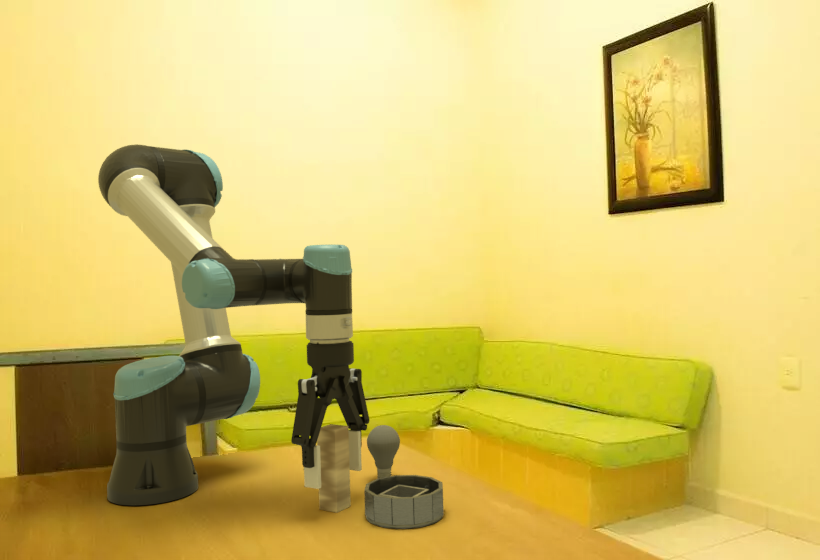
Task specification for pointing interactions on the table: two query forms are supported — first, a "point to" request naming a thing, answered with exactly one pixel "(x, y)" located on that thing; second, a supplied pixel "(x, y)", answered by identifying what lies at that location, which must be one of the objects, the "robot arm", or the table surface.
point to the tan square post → (334, 468)
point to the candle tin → (404, 501)
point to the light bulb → (383, 448)
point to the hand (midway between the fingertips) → (334, 478)
